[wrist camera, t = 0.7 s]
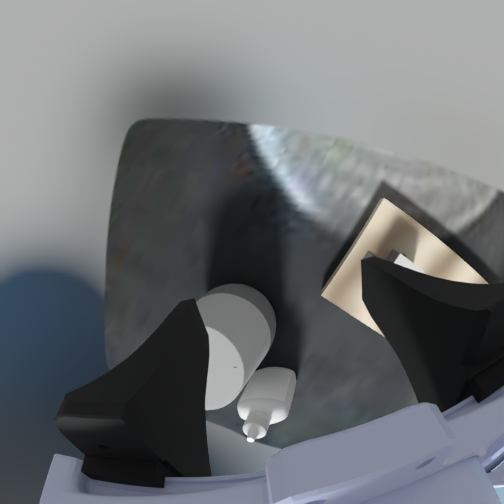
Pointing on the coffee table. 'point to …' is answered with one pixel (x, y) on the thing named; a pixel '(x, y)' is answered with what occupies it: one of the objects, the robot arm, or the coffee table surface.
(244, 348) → the smart speaker
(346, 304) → the console
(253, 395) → the eye dropper bottle
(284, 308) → the coffee table surface
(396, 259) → the fader tab
